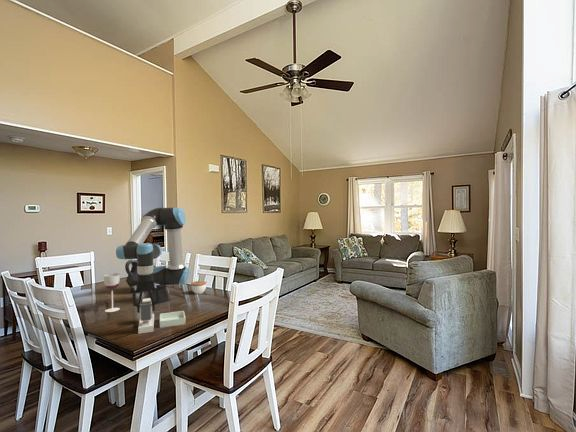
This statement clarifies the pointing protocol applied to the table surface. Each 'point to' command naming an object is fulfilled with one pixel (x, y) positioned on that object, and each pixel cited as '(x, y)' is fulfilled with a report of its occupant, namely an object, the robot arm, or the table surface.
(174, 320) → the tray
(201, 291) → the white round bowl
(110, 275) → the wineglass
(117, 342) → the table surface
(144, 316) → the black charger
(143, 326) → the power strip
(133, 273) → the pitcher
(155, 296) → the robot arm
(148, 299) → the white charger
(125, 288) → the table surface
